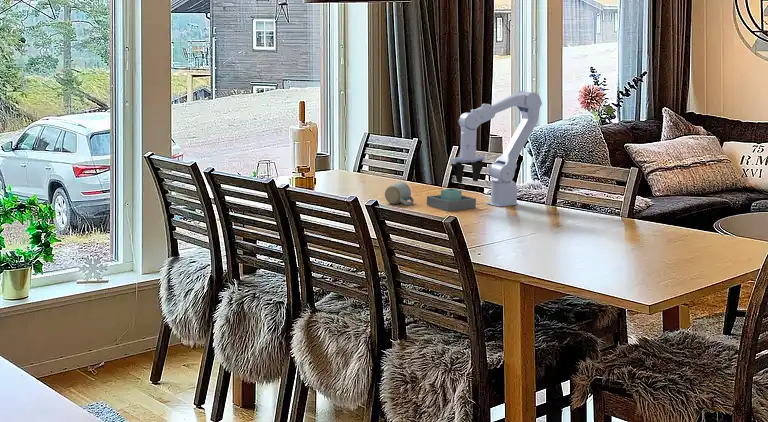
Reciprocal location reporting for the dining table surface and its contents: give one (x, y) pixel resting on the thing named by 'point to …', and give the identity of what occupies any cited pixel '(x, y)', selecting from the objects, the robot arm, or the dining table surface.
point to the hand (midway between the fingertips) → (467, 181)
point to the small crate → (451, 194)
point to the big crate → (451, 203)
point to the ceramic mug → (399, 194)
